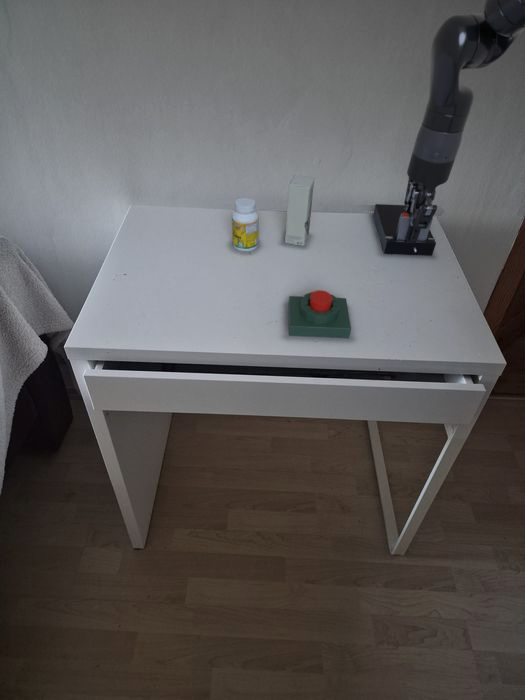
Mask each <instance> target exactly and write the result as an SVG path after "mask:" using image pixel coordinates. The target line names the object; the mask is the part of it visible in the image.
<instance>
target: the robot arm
mask: <svg viewBox="0 0 525 700" xmlns="http://www.w3.org/2000/svg"><path fill="white" fill-rule="evenodd" d="M524 31H525V0H485V1H484V6H483V12H480V13H457V14H453V15H450V16H448V17H447V18H445V19H444V21H443V22H442V23H441V24H440V26H439V27H438V29H437V31H436V32H435V34H434V37H433V40H432V43H431V48H430V67H429V68H430V71H429V72H430V73H429V95H428V101H427V104H426V107H425V111H424V114H423V118H422V122H421V125H420V127H419V130H418V132H417V135H416V138H415V141H414V145H413V148H412V152H411V156H410V159H409V163H408V167H407V169H406V174H407V177H408V180H407V187H406V191H405V197H404V201H403V205H406V208H405V212H407V213H408V214H412V217H411V222H410V226H409V229H408V232H407V235H406V242H413V243H415V242H417V240H418V236H419V233H420V230H421V229H427V227H428V225H429V223H430V221H431V220H432V218H433V217H434V216H435V214H436V212H437V210H438V205H437V204H433V201H434V200H435V198H436V194H437V190H436V189H437V187H439V186H441V185H443V184H445V183H446V182H447V181H449V178H450V175H451V172H452V170H453V169H452V168H453V166H454V165H455V161H456V158H457V155H458V152H459V149H460V146H461V143H462V138H463V135H464V131H465V127H466V124H467V122H468V118H469V115H470V113H471V110H472V107H473V104H474V101H475V100H474V99H475V94H474V93H475V92H474V90H472V88H471V87H469V86H467V85H464V84H461V83H460V74H461V72H462V71H467V70H479V69H484V68H486V67H488V66H490V65H492V64H494V63H496V62H497V61H499V60H500V59H501V58H502V56H504V55H505V54H506V53H507V51H508V50H509V49H510V48H511V47H512V45H513V44H514V43H515V42H516V41H517V40H518V39H519V37H520V36H521V34H522V33H523V32H524ZM419 209H420V210H419ZM416 216H417V217H416ZM433 219H434V218H433ZM432 221H433V220H432Z"/></svg>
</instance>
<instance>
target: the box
mask: <svg viewBox="0 0 525 700" xmlns="http://www.w3.org/2000/svg"><path fill="white" fill-rule="evenodd" d="M314 185H315V177H311V176H303V175H297V174H294V175H293V176H292V178H291V179H290V182H289V184H288V192H287V203H286V204H287V206H286V219H285V220H286V222H285V235H284V244H288V245H295V246H302V247H304V246H305V245H306V243H307V240H308V238H309V233H310V225H311V224H310V223H311V216H312V206H313V205H312V204H313V197H314V196H313V194H314Z"/></svg>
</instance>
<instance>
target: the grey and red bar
mask: <svg viewBox="0 0 525 700" xmlns="http://www.w3.org/2000/svg"><path fill="white" fill-rule="evenodd" d="M411 217H412V214H408V213H401V216H400V219H399V223H398V227H397V230H396V234H395V237H396V240H406V235H407V232H408V229H409V226H410V222H411ZM416 217H417V216H416ZM433 220H434V218H432V220H431V221H430V223H429V225H428V227H427V229H421V230H420V233H419V236H418V240H417V241H426V239H427V235H428V232H429V229H430V230H431V226H432V223H433Z"/></svg>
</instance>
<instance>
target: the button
mask: <svg viewBox="0 0 525 700" xmlns="http://www.w3.org/2000/svg"><path fill="white" fill-rule="evenodd" d="M312 292H313V293H312V294H311V296H310V303H309V305H310V307H311V309H313V310H316V311H321V312H325V311H328V310H329V309H330V308H331V303H332V296H331V295H332V294H331V293H330V292H328V291H325V290H322V289H321V290H320V289H319V290H314V291H312Z"/></svg>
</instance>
